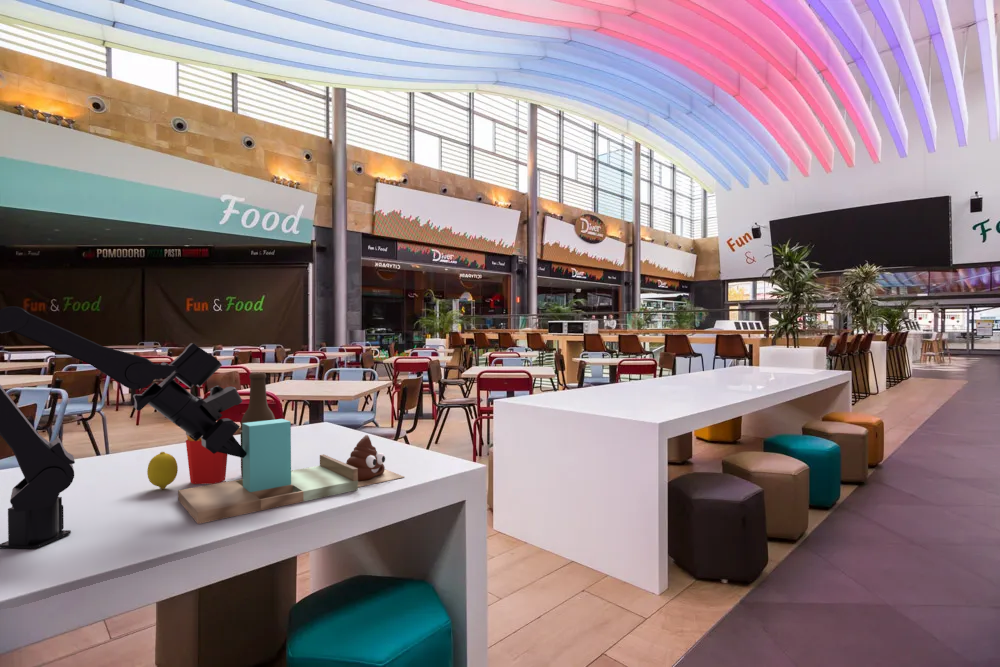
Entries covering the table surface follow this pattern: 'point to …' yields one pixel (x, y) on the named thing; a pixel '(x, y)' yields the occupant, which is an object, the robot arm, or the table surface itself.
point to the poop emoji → (366, 460)
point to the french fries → (205, 463)
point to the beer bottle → (256, 404)
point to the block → (266, 454)
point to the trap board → (269, 492)
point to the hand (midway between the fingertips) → (244, 455)
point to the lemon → (162, 470)
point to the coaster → (380, 478)
